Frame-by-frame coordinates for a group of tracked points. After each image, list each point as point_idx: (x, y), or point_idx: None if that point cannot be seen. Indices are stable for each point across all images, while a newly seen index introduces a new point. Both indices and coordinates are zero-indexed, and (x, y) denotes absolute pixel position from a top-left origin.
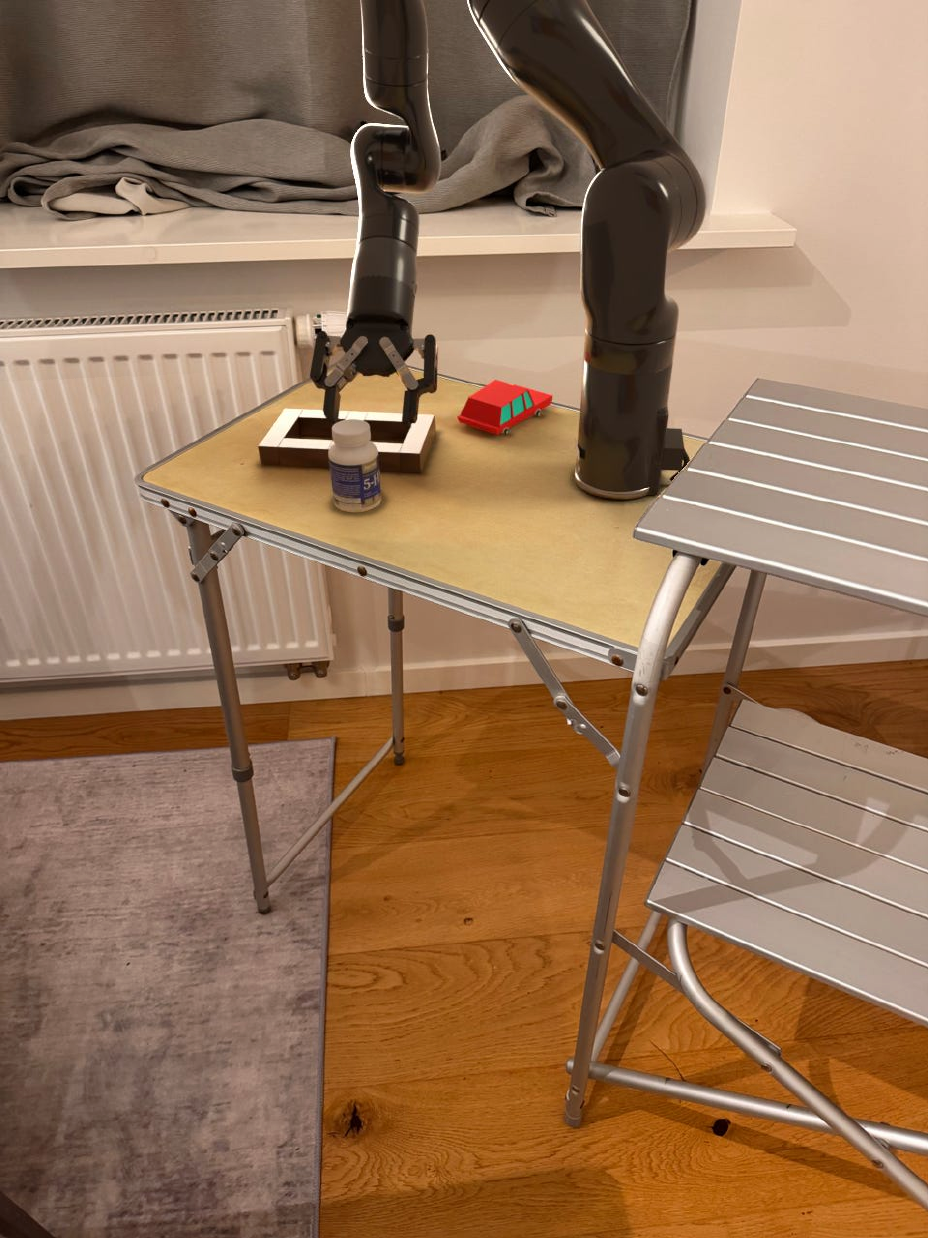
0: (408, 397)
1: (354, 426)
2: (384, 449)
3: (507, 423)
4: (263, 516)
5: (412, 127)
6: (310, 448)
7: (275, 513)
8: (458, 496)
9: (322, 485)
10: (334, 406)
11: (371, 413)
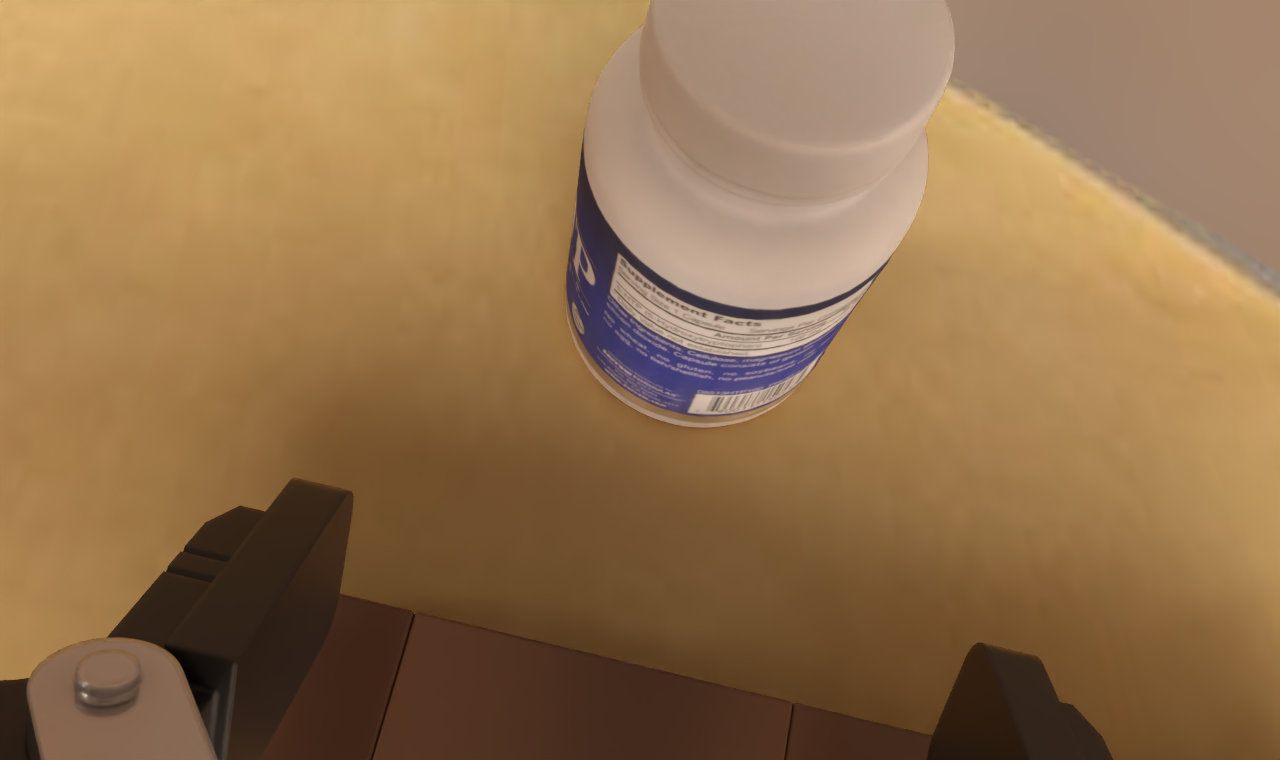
0: (219, 600)
1: (777, 18)
2: (523, 680)
3: None
4: (1149, 250)
5: None
6: None
7: (1099, 268)
8: (112, 286)
9: (908, 528)
10: (1005, 717)
11: None
